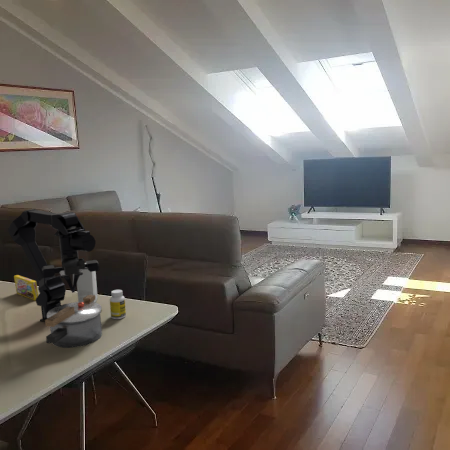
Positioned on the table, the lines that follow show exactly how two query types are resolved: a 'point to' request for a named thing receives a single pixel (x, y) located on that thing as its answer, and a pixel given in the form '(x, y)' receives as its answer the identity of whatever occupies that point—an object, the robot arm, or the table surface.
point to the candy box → (26, 287)
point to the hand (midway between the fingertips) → (73, 292)
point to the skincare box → (87, 285)
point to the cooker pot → (75, 333)
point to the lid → (73, 312)
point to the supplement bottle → (117, 304)
